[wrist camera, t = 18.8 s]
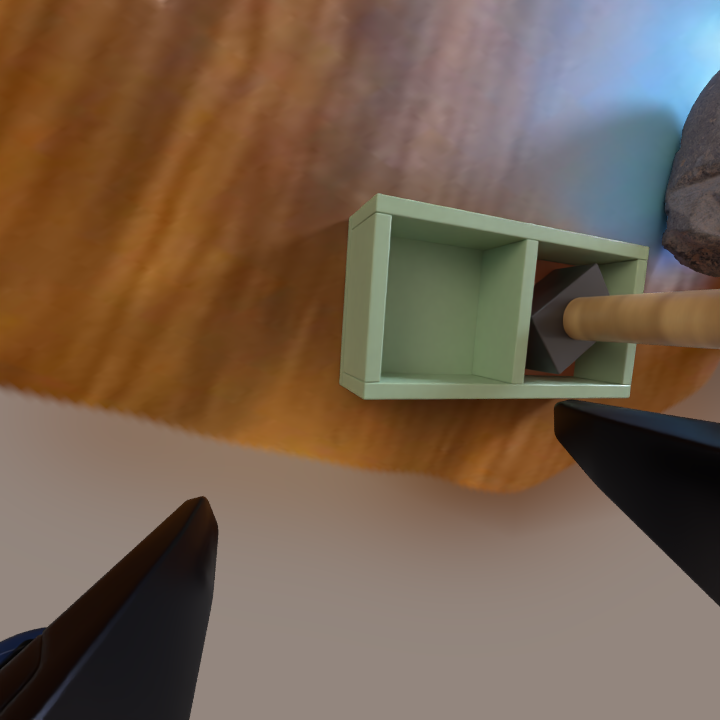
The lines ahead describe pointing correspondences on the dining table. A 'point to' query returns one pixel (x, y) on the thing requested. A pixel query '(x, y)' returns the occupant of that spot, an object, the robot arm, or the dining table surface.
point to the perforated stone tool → (697, 187)
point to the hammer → (612, 318)
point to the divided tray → (467, 305)
